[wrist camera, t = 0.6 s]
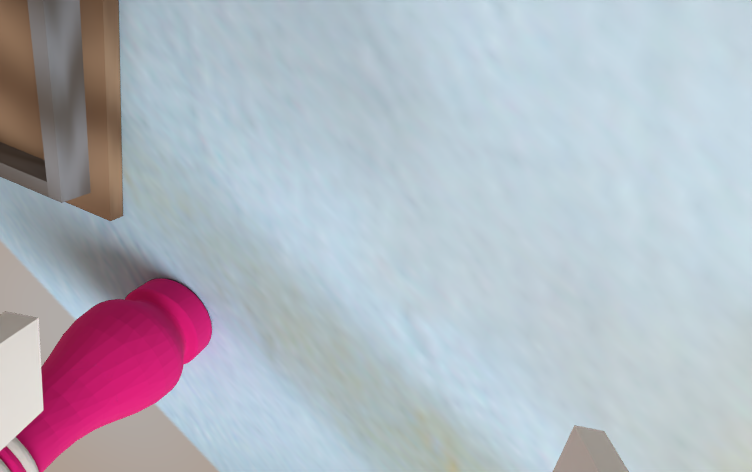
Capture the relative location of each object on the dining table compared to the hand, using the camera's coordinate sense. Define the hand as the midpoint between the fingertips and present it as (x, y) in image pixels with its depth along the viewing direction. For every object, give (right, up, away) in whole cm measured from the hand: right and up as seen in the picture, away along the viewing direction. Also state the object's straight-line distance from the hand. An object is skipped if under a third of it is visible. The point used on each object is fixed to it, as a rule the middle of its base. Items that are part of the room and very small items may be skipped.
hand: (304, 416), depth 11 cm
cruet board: (-20, +15, +16) cm, 30 cm away
